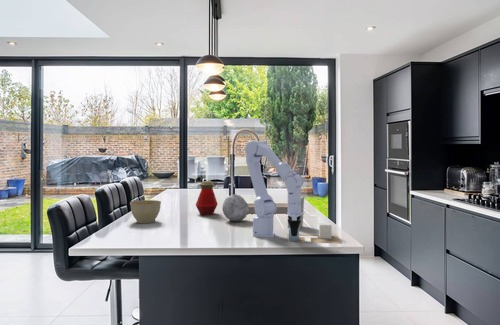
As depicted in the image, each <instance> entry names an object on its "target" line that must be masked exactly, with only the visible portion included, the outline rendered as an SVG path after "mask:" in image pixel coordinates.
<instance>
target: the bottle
mask: <svg viewBox="0 0 500 325" xmlns="http://www.w3.org/2000/svg"><path fill="white" fill-rule="evenodd" d="M214 185H215V184H214V182H213V181H211V180H203V181H202V182H201V183H200V188H201V190H200V193H199V195H198V197H197V200H196V203H195V207H196V209H197V210H198V211H197V212H198V213H199V215H201V216H212V215H214V213H215V211H216V209H217V206H218V202H217V201H218V200H217V197H216V195H215V191H214V189H213V188H214Z"/></svg>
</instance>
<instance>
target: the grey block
mask: <svg viewBox="0 0 500 325" xmlns="http://www.w3.org/2000/svg"><path fill="white" fill-rule="evenodd" d="M318 224H319V225H318V235H319V237H320V238H322V239H331V237H332V236H333V234H332V232H333V231H332V227H333V225H332V223H331V222H318Z"/></svg>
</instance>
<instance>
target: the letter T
mask: <svg viewBox="0 0 500 325" xmlns="http://www.w3.org/2000/svg"><path fill="white" fill-rule="evenodd" d="M299 237H305V242H304V243H309V242H311V239H310V238H318V237H317V236H299Z"/></svg>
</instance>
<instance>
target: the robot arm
mask: <svg viewBox="0 0 500 325" xmlns="http://www.w3.org/2000/svg"><path fill="white" fill-rule="evenodd" d="M244 150H245V161H246V162H245V163H246V166H247V169H248V173H249V176H250V179H251V180H250V181H251V183H252V187H253V190H254V193H255V199H254V201H253V203H254V204H253V205H254V213H255V215H254V216H253V218H252V237H255V238H275V234H276V233H275V232H274V216H275V213H277V209H278V208H277V207H278V206H277V204H276V203H275V201H274V200H273V197H272V196H271V195H270V194H269V193H268V190H267V185H266V183H265V180H264V177H263V173H262V171H261V167H260V164H259V162H260V160H261V159H262V158H263V157H265V158H266V159H267V161H269V162H270V163H271V164H272V165H273V167H275V172H276V173H277V175H278V176H280V177H281V179H282V180H283V181H284V185H285V187H286V191H287V213H286V215H287V224H288V223H289V225H290V230H291V235H292V236H297V233H298V227H299V224H300V222H301V220H299V219H300V217H301V216H300V215H303V216H304V212H303V213H301V196H302V186H303V185H304V178H303V176H302V175H301V174H298V173H297V172H296V171H294V170H293V169H292V168H291V166H290V164H289V163H288V162H282V161H281V159H280V158H279V157H278V156H277V155H276V153H275V152H274V151H273V150H272V148H271V146H270V145H269V144H268V143H267V142H266V141H265V140H252V139H251V140H249V141H247V143H246V144H245V146H244ZM288 215H289V216H288ZM288 218H289V219H288Z"/></svg>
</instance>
